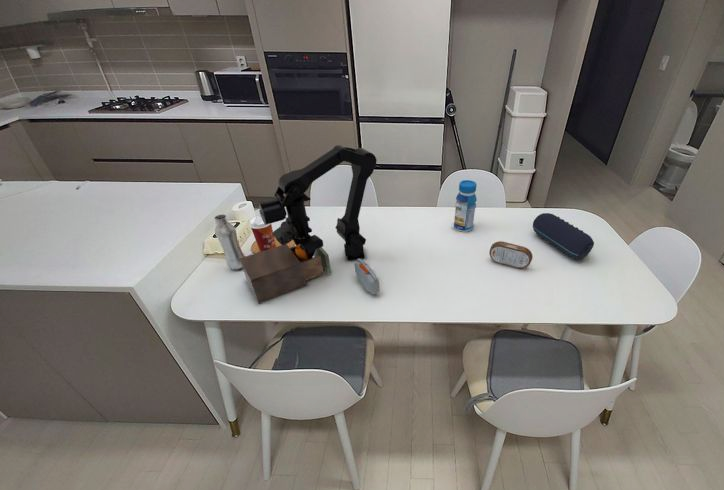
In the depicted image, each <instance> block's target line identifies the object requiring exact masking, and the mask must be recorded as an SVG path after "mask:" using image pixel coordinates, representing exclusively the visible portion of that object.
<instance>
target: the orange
mask: <svg viewBox="0 0 724 490" xmlns="http://www.w3.org/2000/svg"><path fill="white" fill-rule="evenodd" d="M299 246H300V244H298V245H297V247H296V250H295V253H296V255H297V257H298V258H299V259H301V260H308V258H307V255H306V253H305V251H304V250H302V249H301V248H300V247H299ZM313 257H314V255H313Z"/></svg>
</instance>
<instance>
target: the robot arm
mask: <svg viewBox="0 0 724 490" xmlns="http://www.w3.org/2000/svg"><path fill="white" fill-rule="evenodd" d="M343 162H346V163H349V164H350V166H351V172H352V179H351V183H350V188H349V191H348V197H347V201H346V206H345V211H344V215H343V216H342V217H341V218H340V217H338V218H337V220H336V226H335V230H336V234H337V235H338V236H339V237H340V238H341V239H342V240H343V241H344V244H343V246H344V247H343V249H344V254H345V255H344V256H345V257H346V261H357V259H359V258H360V259H361V260H364V259H365V258H366V256H365V252H364V246H365V245H366V241H367V238H366V237H364V236H363V235H362V234H361V233H360V230H361V228H360V227H361V226H360V222H359V216H360V214H361V213H360V212H361V207H362V205H363V204H362V203H363V198H364V195H365V191H366V187H367V186H366V185H367V182H368V180H369V178H370V177H371V175H372V174H373V173H374V171H375V168H376V166H377V163H378V161H377V157H376V156H375V154H374V153H372V152H370V151H369V150H367V149H365V148H363V147H358V148H352V147H348V146H343V145H341V144H337V145H335V146H333V148H332V149H330V150H329V151H327V152H326V153H325V154H322V155H321V156H320V157H318V158H317V159H315V160H313V161H312V162H311V163H309V164H307V165H306V166H305V167H303V168H301V169H300V168H299V169H296V170H291V171H289V172H287V173H285V174H282V175H281V176H280V177H279V178H278V187H277V189H276V191H275V192H274V195H273V197H274V198H273V199H269V200H262V201H259V202H258V209H259V210H258V212H259V216H261V218H262V220H263V222H264V224H265V225H267V224H270V223H271V224H273V223H277V222H281V224H280V226H279V227H278V228H276V229H275V230H273V233H272V234H273V236H274V239H275V241H277V242H278V243H279V244H280V246H281V245H285V244H287V245H288V244H289V243H290V242H292V241H293V243H294V244H295V246H297V245H298V244H300V246H299V247H300V248H301V249H302V250H304V251H305V253H306V255H307V258H308V259H311V258H314V256H313V255H314V252H315V250H316V249H318V248H321V247H322V248H323V247H324V241H323V239H322V238H320V237H319V236H318V235H316V234H313V235H310V233H313V229H312V228H311V227H310V225H309V222H310V221H311V218H310V217H309V216H308V215H307V210H306V209H307V208H306V205H305V202H308V201H311V197H310V196H309V195H307V193H306V192H307V191H308V190H309V188H310V187H311V186H312V184H313V183H314V182H315V181H316V180H318V179H319V178H321V177H323V176H324V175H325V174H327V173H328V172H330V171H331V170H333V169H334V168H336V167H338V166H339V165H340V164H342V163H343ZM284 220H285V221H284Z"/></svg>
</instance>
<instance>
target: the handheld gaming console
mask: <svg viewBox="0 0 724 490" xmlns="http://www.w3.org/2000/svg"><path fill="white" fill-rule="evenodd" d="M353 264H354V269H355V270H354V271H355V274H356V275H357V278H358V281H359V283H360V285H361V286H362V287H363V288H364V290H366V291H367V293H370V294H371V295H377V294H379V293H380V291H381V290H380V281H379V277H378V276H377V274H376V273H375V271H374V270H373V269H372V268H371V266H370V265H369V264H368V263H367V262H366V261H365V260H364V259H360V258H359V259H357V260H355V261H354V262H353Z"/></svg>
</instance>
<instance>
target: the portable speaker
mask: <svg viewBox="0 0 724 490" xmlns="http://www.w3.org/2000/svg"><path fill="white" fill-rule="evenodd" d="M532 229H533V231H534V233H535V234H536V235H537V236H538V237H540V238H541V239H543V240H544V241H546V242H547V243H548V244H550V245H552V246H553V247H555V248H557V249H558V251H559V250H560V251H561V252H562V253H564V254H565V255H566V256H568V257H570V258H572V259H573V260H576V261H581V260H583V259H585V257H587V256H588V255H589V254H590V253H591V251H592V249H593V248H594V246H595V245H594V244H595V242H594V239H593V238H592V236H591V235H589V234H588V233H586V232H584V231H583V229H579V228H578V227H577V226H574V224H571V223H570V222H569V221H565V219H563V218H561V217H560V216H557V215H555V214H554V213H549V212H544V213H540V214H538V215H537V216H536V217H535V218H534V220H533V222H532Z"/></svg>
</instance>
